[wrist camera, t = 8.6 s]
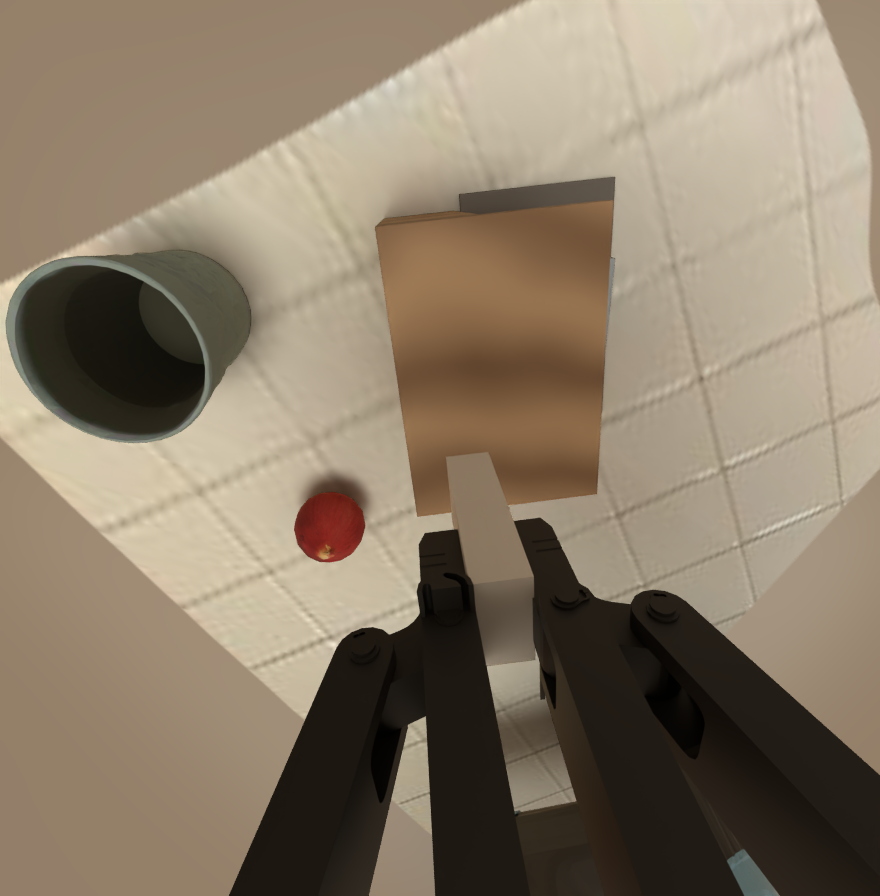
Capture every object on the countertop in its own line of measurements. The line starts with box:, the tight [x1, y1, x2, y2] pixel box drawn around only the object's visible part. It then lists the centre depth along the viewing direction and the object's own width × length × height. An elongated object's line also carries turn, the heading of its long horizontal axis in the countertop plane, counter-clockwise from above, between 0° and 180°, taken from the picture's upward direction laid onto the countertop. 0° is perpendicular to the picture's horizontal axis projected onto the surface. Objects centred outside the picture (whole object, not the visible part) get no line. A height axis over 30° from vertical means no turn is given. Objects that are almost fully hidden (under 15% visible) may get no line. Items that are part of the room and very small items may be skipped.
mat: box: [459, 177, 615, 413], centre depth 38 cm, size 18×11×1 cm, turn 6°
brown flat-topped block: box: [375, 200, 613, 517], centre depth 32 cm, size 16×11×14 cm
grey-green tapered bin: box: [6, 250, 251, 443], centre depth 31 cm, size 10×10×12 cm
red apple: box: [294, 492, 365, 562], centre depth 41 cm, size 6×6×8 cm
